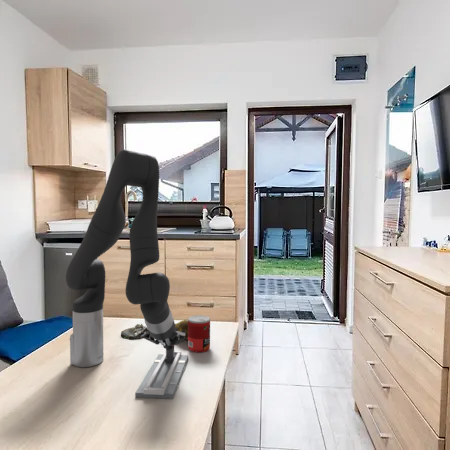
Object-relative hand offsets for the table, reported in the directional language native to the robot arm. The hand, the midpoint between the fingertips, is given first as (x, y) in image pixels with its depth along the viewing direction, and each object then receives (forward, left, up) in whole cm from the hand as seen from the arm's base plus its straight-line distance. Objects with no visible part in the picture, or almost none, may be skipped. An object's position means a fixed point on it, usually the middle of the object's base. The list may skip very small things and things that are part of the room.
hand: (169, 347), depth 111 cm
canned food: (+8, +15, -7) cm, 18 cm away
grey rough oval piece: (-20, +28, -7) cm, 35 cm away
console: (0, -6, -6) cm, 9 cm away
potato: (+1, +24, -7) cm, 25 cm away
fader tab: (0, +1, -5) cm, 5 cm away
